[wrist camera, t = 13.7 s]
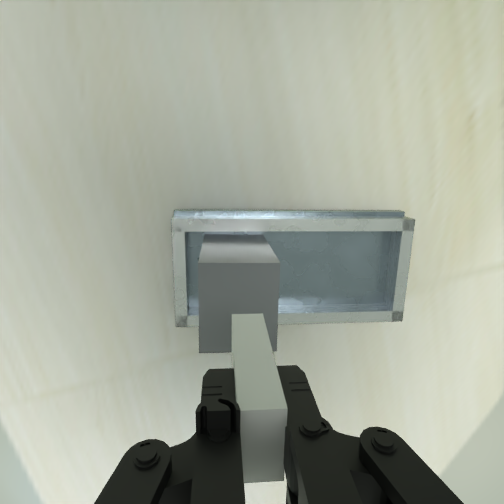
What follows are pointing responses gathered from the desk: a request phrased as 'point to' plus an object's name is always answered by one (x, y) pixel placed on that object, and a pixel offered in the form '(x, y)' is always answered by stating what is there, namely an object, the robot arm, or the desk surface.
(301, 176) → the desk surface
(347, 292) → the shallow grey tray
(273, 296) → the block
